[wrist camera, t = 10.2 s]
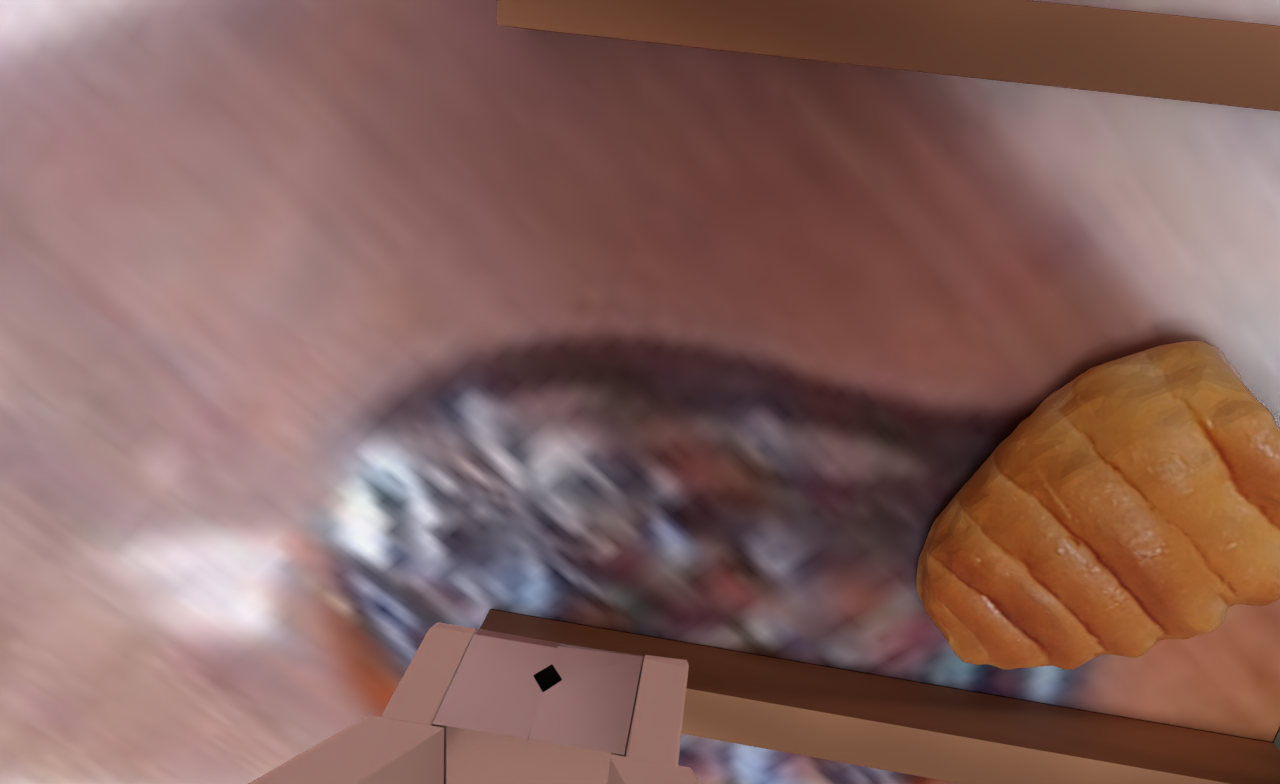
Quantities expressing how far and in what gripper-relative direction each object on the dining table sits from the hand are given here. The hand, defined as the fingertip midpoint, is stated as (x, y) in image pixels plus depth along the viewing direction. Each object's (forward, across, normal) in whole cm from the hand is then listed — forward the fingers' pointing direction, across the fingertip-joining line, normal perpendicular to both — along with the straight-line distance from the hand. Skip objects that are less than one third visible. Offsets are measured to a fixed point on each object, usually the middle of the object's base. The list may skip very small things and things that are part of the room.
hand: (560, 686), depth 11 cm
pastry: (+14, -12, +3) cm, 18 cm away
